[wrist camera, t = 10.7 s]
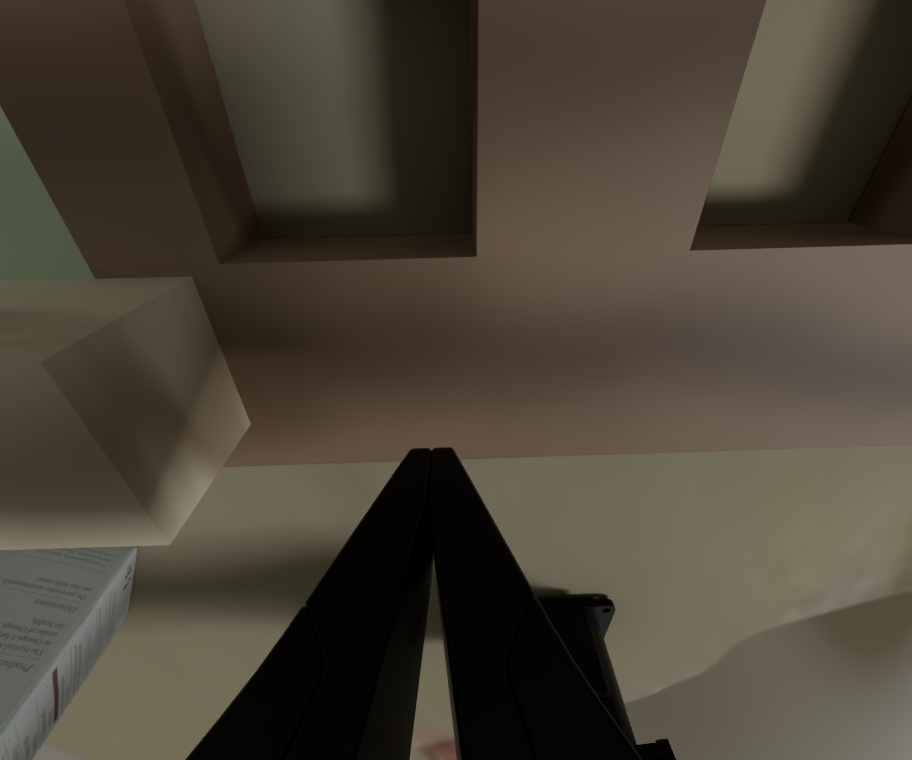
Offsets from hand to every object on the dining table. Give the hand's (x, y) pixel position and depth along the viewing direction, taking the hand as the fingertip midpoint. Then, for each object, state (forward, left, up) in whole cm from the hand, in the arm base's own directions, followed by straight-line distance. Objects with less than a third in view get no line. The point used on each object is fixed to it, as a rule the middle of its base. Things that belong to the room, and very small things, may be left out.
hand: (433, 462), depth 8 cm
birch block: (+1, +8, -4) cm, 9 cm away
